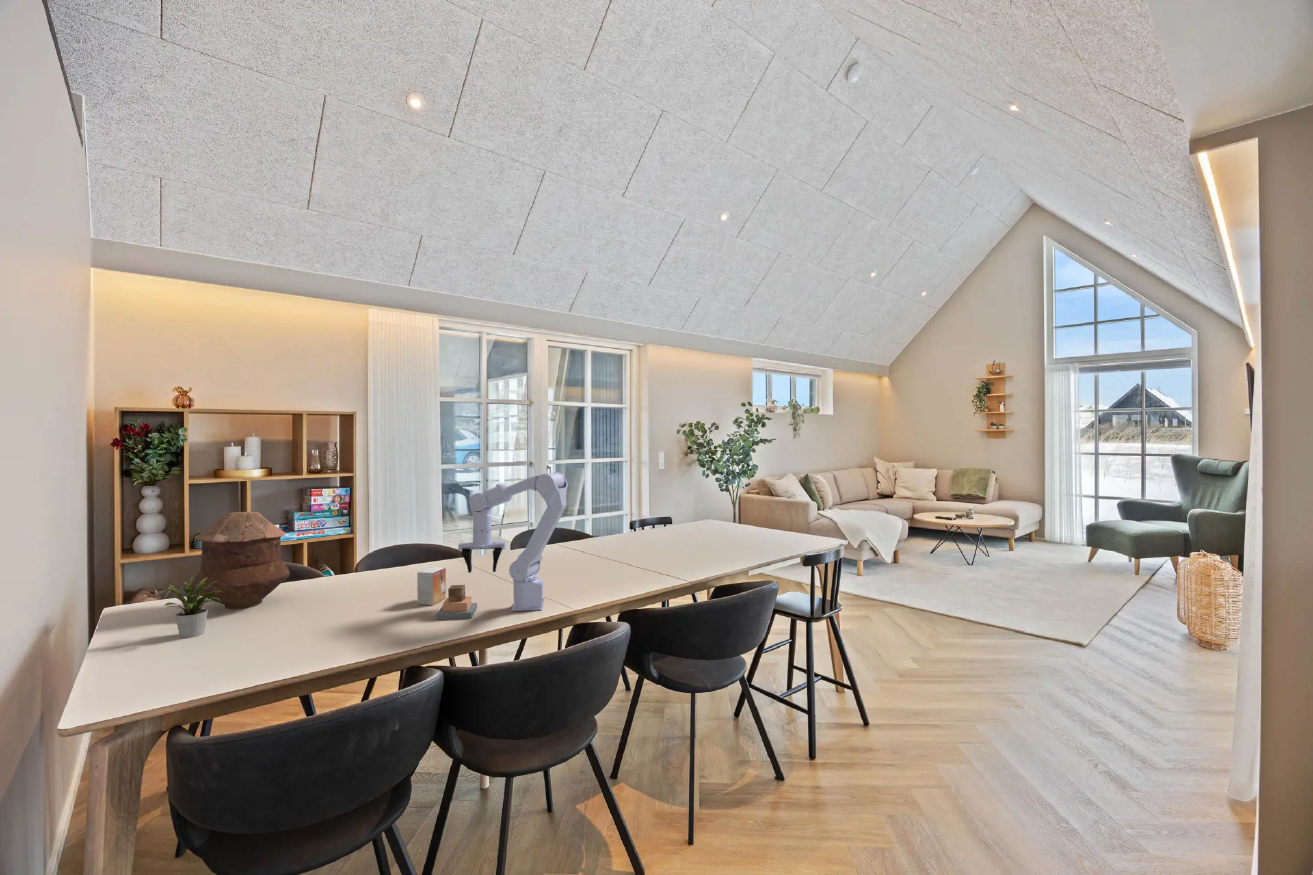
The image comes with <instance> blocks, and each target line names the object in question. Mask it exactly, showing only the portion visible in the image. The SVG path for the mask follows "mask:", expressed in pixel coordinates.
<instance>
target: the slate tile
mask: <svg viewBox="0 0 1313 875" xmlns="http://www.w3.org/2000/svg"><path fill="white" fill-rule="evenodd" d="M476 609H477V610H478V603H477V602H471V606H470V607H469V609H468V610H467V611H457V612H443V605H442V606H441V607H440V609H438V611H437V612H436V616H435V618H436V619H435V620H436V621H445V620H444V619H451V620H469V619H472V618H473V617H474V615H475V614H476V612H477V610H476ZM472 616H473V617H472Z"/></svg>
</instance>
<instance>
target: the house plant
mask: <svg viewBox="0 0 1313 875" xmlns="http://www.w3.org/2000/svg"><path fill="white" fill-rule="evenodd" d="M207 578H208V577H205V578H204V579H203V580H202V581H200V582H199V583H198V585H197V586H196V588H195V589H194V592H193V591H192V586H193V584H192V583H193V580H194V574H192V575H191V577H190V580H189V584H188V583H187V582H185V581H183V583H184V584H183V585H184V587H182V586H180V588H181V589H182V591H183V593H184V595H185V597H186V598H185V597H184V596H183V594H182V593H181V592H180V590H178V589H177V588H176V587H175V586H173V585H171V584H169V586H166V587H165V586H161V587H160V586H158V587H157V586H156V587H155V589H156V588H164V589H167V590H169V591H171V592H172V593H173V594H175V595H176V597H175V598H176V599H178V600H179V601H180V602H181V603H182V605H183V606H181V605H179V604H177V603H176V602H175V603H174V602H167V603H165V604H164V605H163V607H166V606H167V607H166V609H168V608H171V607H172V608H173V607H174V605H175V606H176V607H177V608H180V609H182V611H179V612H176V613H175V614H174V616H175V622H176V625H177V630H178V634H179V638H181V639H188V638H194V637H195V636H196V637H199V636H201V635H204V632H205V629H206V624H207V618H208V611H209V609H208V608H204V607H203V606H204V605H205V604H206V603H210V602H211V603H215V604H216V602H215V601H214V600H210V599H218V600H219V598H217V597H212V598H208V597H209V596H211V595H213V594H215V593H217V592H221V591H212V592H209V593H205V595H204V594H201V595H200V593H201V591H202V588H204V587H203V586H204V585H205V581H206V579H207ZM217 581H218V580H217ZM215 582H216V581H215ZM171 583H172V584H174V583H175V582H173V581H172V582H171ZM213 583H214V582H213ZM213 583H212V584H213ZM176 584H177V585H179V583H178V582H176ZM212 584H210V585H212ZM210 585H208V587H209V586H210ZM205 587H206V586H205ZM208 587H207V588H208ZM207 588H204V589H205V590H206V589H207ZM205 590H204V591H205ZM204 591H203V592H204ZM202 595H203V596H202ZM207 598H208V599H207ZM202 607H203V608H202Z"/></svg>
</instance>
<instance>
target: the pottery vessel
mask: <svg viewBox="0 0 1313 875" xmlns="http://www.w3.org/2000/svg"><path fill="white" fill-rule="evenodd" d="M285 535H286V532H285V531H283V530H282V529H281V528H279V527H277V525H275V524H273V523H272V522H271V521H269V519H267V518H265V517H264V515H263V514H261V513H260V512H258V511H237V512H235V511H234V512H229V513H226V514H225V515H224V516H222V517H221V518H219V519H218V520H216V521H215V522H214V523H213V524H211V526H209V527H208V528H207V529H205V530H204V531H203V532H200V533H198V534H196V535H195V536H194V540H196V541H197V542H201V555H200V556H201V558H200V570H199V571H198V573H197V574H196V575H195V577H194V578H193V579H192V584H193V586H192V593H193V592H194V589H195V588H196V586H197V585H198V583H199V582H200V581H202V580H203V579H204V578H205V577H208V578H207V579H206V581H205V585H204V586H203V587H204V588H207V587H208V585H210V584H212V583H213V582H214V583H213V584H212V585H210V586H209V587H208V588H207V589H206V590H205V589H204V588H202V591H201V593H200V595H201V594H204V595H205V593H209V592H212V591H221V592H217V593H215V594H213V595H211V596H209V597H208V598H212V597H217V598H219V600H218V599H209V600H214V602H215V603H218V604H221V605H223V606H224V608H225V609H226V610H239V609H241V610H242V609H247V608H250V607H251V608H252V607H255V606H258V605H260V604H262V603H263V600H264V599H265V598H266V597H267V596H268V595H269V594H271V593H272V592H273V591H274V590H275V589H276V588H277V587H279V586H280V585H281V584H282V583H284V582H285V581H286V580H287V579H288V578H289V577H290V575H291V572H290V570H289V568H288V566H287V565H286V563H285V561H283V560H282V558H281V556H282V553H281V552H282V551H281V546H282V545H281V538H282V537H284V536H285ZM217 580H218V581H217ZM215 581H216V582H215ZM205 586H206V587H205ZM204 590H205V591H204ZM203 591H204V592H203ZM202 596H203V595H202ZM202 596H201V597H202ZM208 598H207V599H208ZM207 599H206V600H207Z"/></svg>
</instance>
